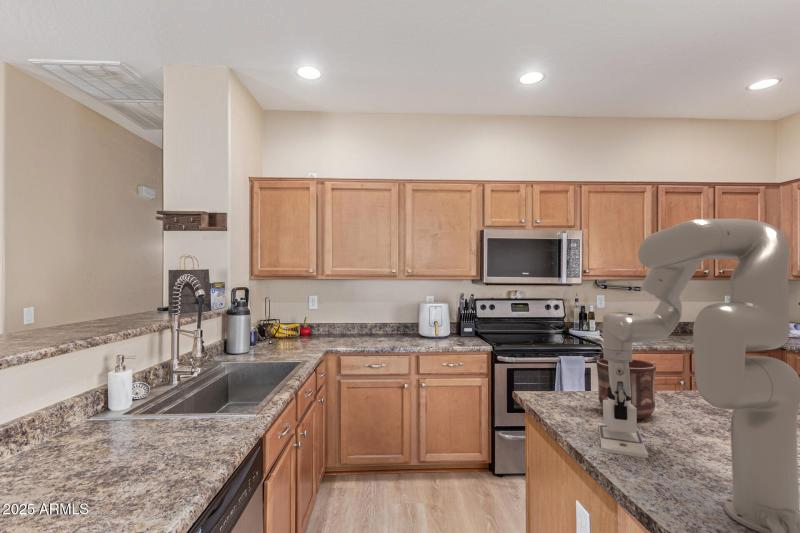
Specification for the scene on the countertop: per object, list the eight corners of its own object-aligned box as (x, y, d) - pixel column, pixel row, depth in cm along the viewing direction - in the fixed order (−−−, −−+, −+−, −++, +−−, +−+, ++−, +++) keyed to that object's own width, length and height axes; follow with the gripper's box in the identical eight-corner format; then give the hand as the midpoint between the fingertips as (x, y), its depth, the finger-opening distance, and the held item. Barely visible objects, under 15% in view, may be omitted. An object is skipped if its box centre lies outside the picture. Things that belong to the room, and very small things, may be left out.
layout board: (648, 458, 102) (648, 453, 102) (601, 451, 107) (601, 446, 107) (637, 430, 120) (637, 426, 120) (598, 425, 125) (598, 421, 125)
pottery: (645, 429, 121) (644, 371, 122) (588, 414, 135) (587, 361, 135) (665, 416, 132) (663, 363, 133) (610, 403, 146) (609, 355, 146)
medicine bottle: (637, 433, 111) (636, 391, 111) (610, 431, 112) (609, 389, 113) (628, 424, 118) (627, 384, 118) (603, 422, 119) (601, 383, 120)
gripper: (636, 361, 106) (638, 426, 106) (628, 350, 122) (630, 406, 122) (605, 359, 109) (607, 422, 109) (601, 348, 125) (603, 403, 125)
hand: (619, 413), depth 115 cm, fingers closed on medicine bottle, 8 cm apart
